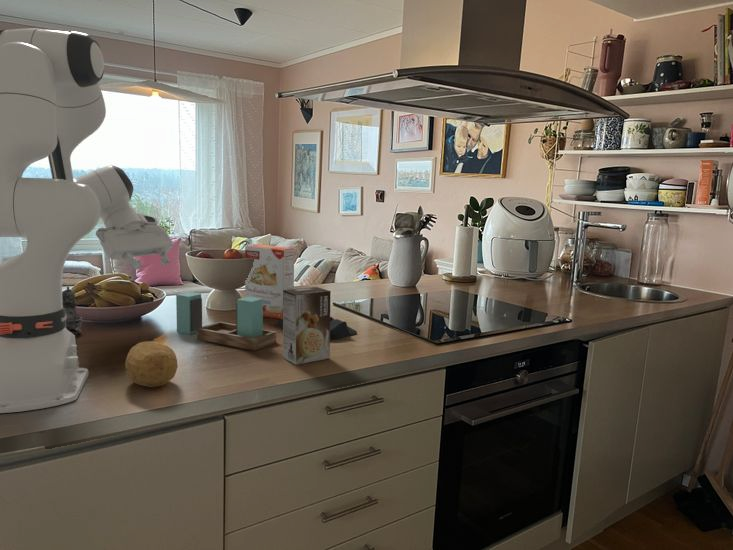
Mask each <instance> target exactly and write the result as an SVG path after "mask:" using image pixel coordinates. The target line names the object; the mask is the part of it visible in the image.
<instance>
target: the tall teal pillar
mask: <svg viewBox="0 0 733 550" xmlns="http://www.w3.org/2000/svg"><path fill="white" fill-rule="evenodd" d="M175 300H176V301H175V302H176V303H175V304H176V332H177V333H179V332H180V334H185V335H188V336H189V335H192V334H197V328H200V327H203V298H202V293H197V292H192V291H186V292H182V293H177V294H176V296H175Z"/></svg>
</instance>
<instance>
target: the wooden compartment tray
mask: <svg viewBox="0 0 733 550" xmlns="http://www.w3.org/2000/svg"><path fill="white" fill-rule="evenodd" d="M196 339H197V340H199V341H200V340H201V341H206V342H211V343H215V344H221V345H224V346H231V347H235V348H238V349H239V348H240V349H245V350H250V351H254V352H255V351H258V350H261V349H262V348H265V347H268V346H270V345H273V344H274V343H276V342H277V331H276V330H269V329H265V328H263V335H262V336H260V337H257V338H250V337H244V336H239V335H236V324H235V323H230V322H225V321H218V322H217V321H216V322H213V323H211V324H207V325H204V326H202V327H200V328H197V332H196Z"/></svg>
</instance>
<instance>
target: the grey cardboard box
mask: <svg viewBox="0 0 733 550" xmlns="http://www.w3.org/2000/svg"><path fill="white" fill-rule="evenodd" d="M331 293H332V292H331V290H327V289H324V288H322V287H318V286H312V287H311V286H310V287H303V288H302V287H301V288H294V289H289V290H283V330H282V357H283V359H285V360H286V361H288V362H290V363H292V364H294V365H296V366H298V365H302V364H303V365H304V364H307V363H311V362H317V361H323V360H328V359H331V340H330V317H331Z"/></svg>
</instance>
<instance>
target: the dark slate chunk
mask: <svg viewBox="0 0 733 550" xmlns="http://www.w3.org/2000/svg"><path fill="white" fill-rule="evenodd" d="M273 326H274V327H276V328H277V329H281V330H282V331H283V319H282V320H281V319H279V320H278V321H277V322H276V323H274V324H273ZM357 333H358V332H357V330H355V329H353V328H352V327H350V326H348V322H347V321H343V320H340V319H338V318H336V319H335V318H334V317H332V316H330V341H336V340H341V339H346V338H349V337H351V336H353V335H354V336H355V335H357Z"/></svg>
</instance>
